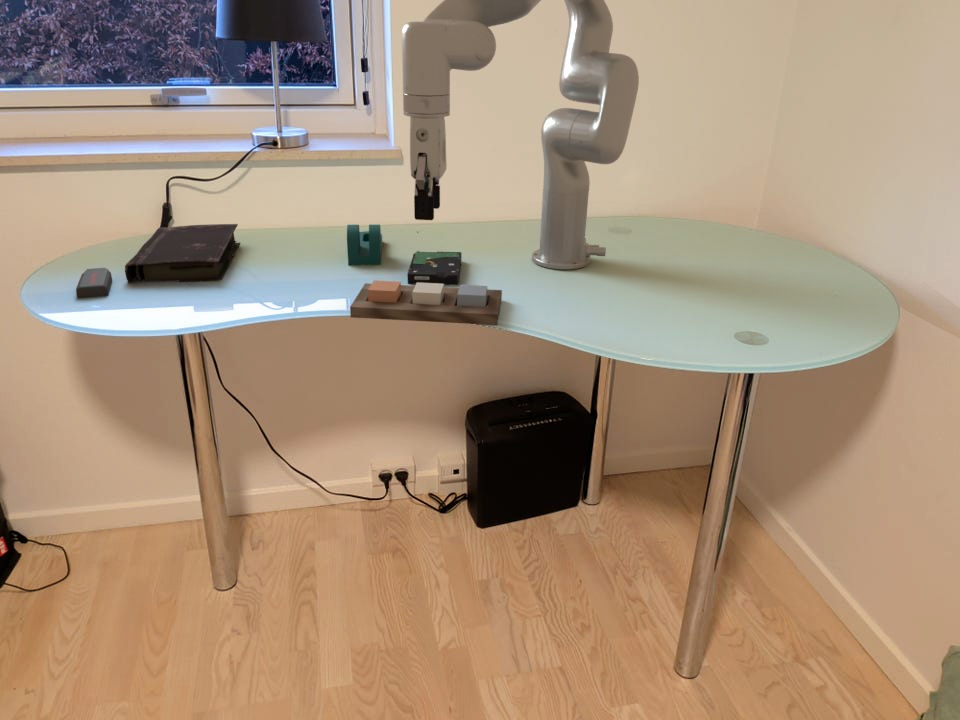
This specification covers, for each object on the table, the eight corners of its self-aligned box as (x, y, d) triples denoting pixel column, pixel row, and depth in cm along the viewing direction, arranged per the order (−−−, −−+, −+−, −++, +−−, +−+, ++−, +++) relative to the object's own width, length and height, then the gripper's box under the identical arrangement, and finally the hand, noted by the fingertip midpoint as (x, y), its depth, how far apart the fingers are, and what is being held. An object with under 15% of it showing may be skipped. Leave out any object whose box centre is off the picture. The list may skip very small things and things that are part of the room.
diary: (126, 287, 145) (121, 262, 143) (158, 248, 168) (154, 226, 165) (225, 283, 148) (222, 258, 145) (244, 244, 170) (241, 223, 168)
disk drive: (459, 288, 148) (461, 263, 162) (459, 274, 147) (461, 250, 160) (407, 287, 148) (413, 262, 162) (407, 273, 147) (413, 249, 160)
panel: (501, 300, 141) (501, 290, 140) (497, 325, 131) (497, 314, 130) (365, 293, 143) (365, 283, 142) (350, 317, 132) (350, 306, 131)
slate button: (487, 301, 138) (487, 285, 137) (484, 311, 133) (485, 295, 132) (460, 299, 138) (460, 284, 137) (457, 310, 134) (457, 294, 132)
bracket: (380, 266, 158) (379, 229, 155) (348, 266, 158) (346, 229, 154) (382, 240, 174) (381, 207, 171) (353, 240, 174) (351, 207, 170)
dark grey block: (77, 300, 138) (74, 286, 136) (85, 279, 148) (82, 266, 147) (108, 298, 139) (105, 284, 138) (114, 277, 149) (111, 263, 148)
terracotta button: (401, 296, 139) (400, 281, 138) (396, 306, 134) (395, 291, 133) (374, 295, 139) (373, 280, 138) (368, 305, 135) (367, 289, 133)
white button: (443, 299, 138) (443, 283, 137) (440, 309, 134) (440, 293, 133) (417, 297, 139) (416, 282, 137) (412, 307, 134) (412, 292, 133)
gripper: (442, 113, 113) (442, 228, 121) (455, 99, 129) (454, 202, 137) (393, 111, 114) (396, 226, 122) (412, 97, 129) (414, 200, 137)
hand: (427, 212), depth 129 cm, fingers open, 6 cm apart
